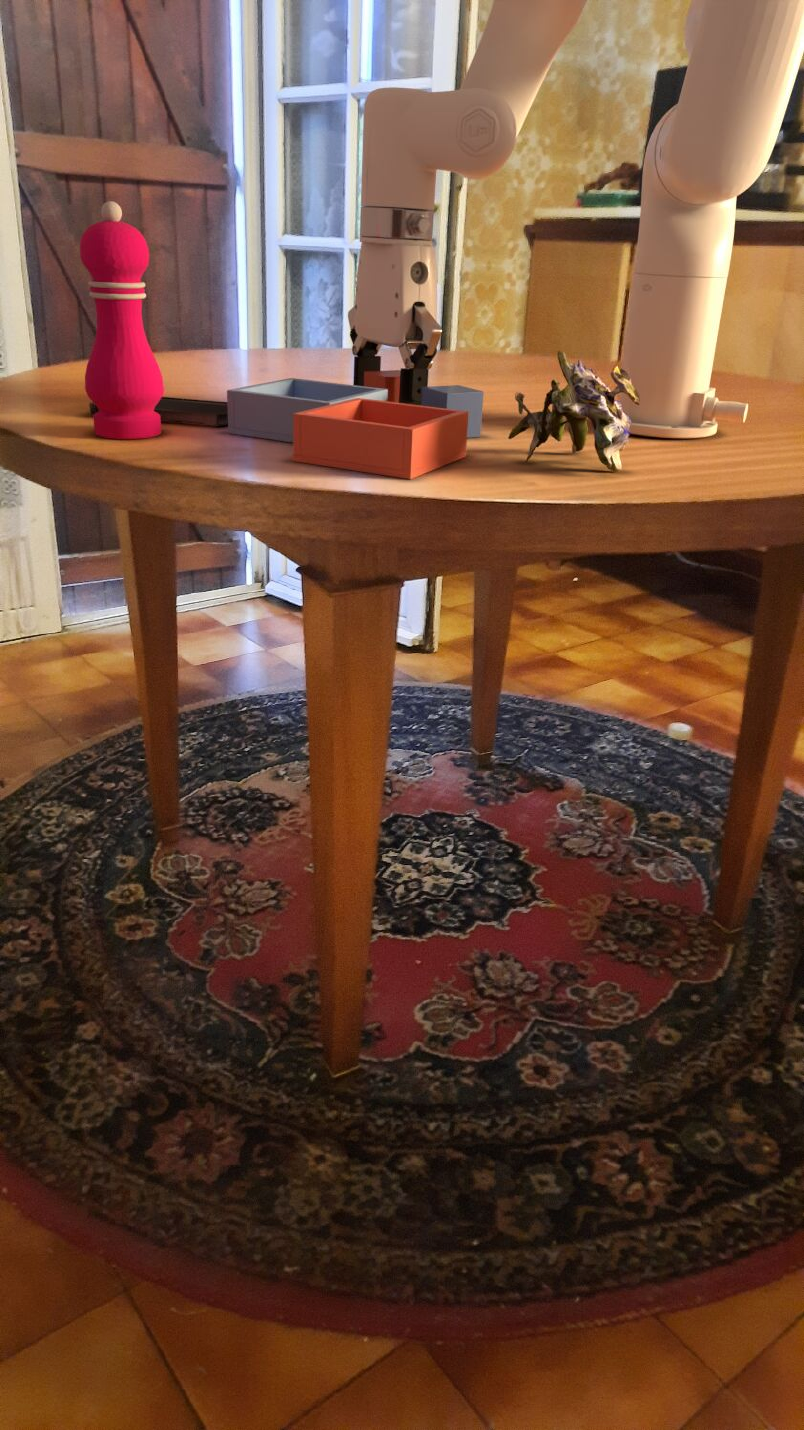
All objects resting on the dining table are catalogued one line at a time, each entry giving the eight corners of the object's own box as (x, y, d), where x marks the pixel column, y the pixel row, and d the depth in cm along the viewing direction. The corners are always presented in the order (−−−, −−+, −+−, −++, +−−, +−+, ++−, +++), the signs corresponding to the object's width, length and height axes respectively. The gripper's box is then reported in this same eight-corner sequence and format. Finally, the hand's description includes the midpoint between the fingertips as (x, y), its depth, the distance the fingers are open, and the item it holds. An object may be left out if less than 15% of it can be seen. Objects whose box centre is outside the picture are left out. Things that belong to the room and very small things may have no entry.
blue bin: (386, 430, 105) (388, 389, 103) (329, 448, 96) (329, 403, 94) (291, 417, 110) (291, 377, 108) (227, 433, 100) (226, 390, 98)
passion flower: (602, 529, 94) (646, 437, 84) (488, 499, 94) (518, 404, 83) (616, 441, 100) (658, 345, 89) (508, 413, 99) (538, 314, 89)
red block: (418, 418, 113) (420, 375, 111) (383, 420, 110) (385, 377, 108) (397, 411, 116) (398, 370, 114) (363, 413, 114) (364, 371, 112)
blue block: (480, 437, 104) (484, 391, 102) (444, 440, 102) (447, 393, 100) (455, 429, 107) (458, 385, 105) (419, 432, 105) (421, 386, 103)
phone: (120, 393, 112) (249, 403, 109) (121, 404, 112) (250, 414, 109) (84, 403, 105) (221, 415, 102) (85, 415, 105) (221, 426, 102)
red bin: (465, 456, 95) (468, 411, 93) (410, 479, 85) (412, 429, 84) (357, 441, 99) (357, 397, 98) (293, 461, 90) (292, 413, 88)
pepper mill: (176, 429, 101) (163, 204, 92) (153, 442, 95) (137, 202, 86) (105, 424, 102) (86, 200, 93) (77, 438, 95) (54, 198, 86)
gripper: (474, 233, 100) (461, 412, 108) (384, 227, 113) (377, 387, 121) (410, 230, 97) (401, 415, 104) (324, 224, 110) (321, 389, 117)
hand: (388, 400), depth 113 cm, fingers open, 9 cm apart
